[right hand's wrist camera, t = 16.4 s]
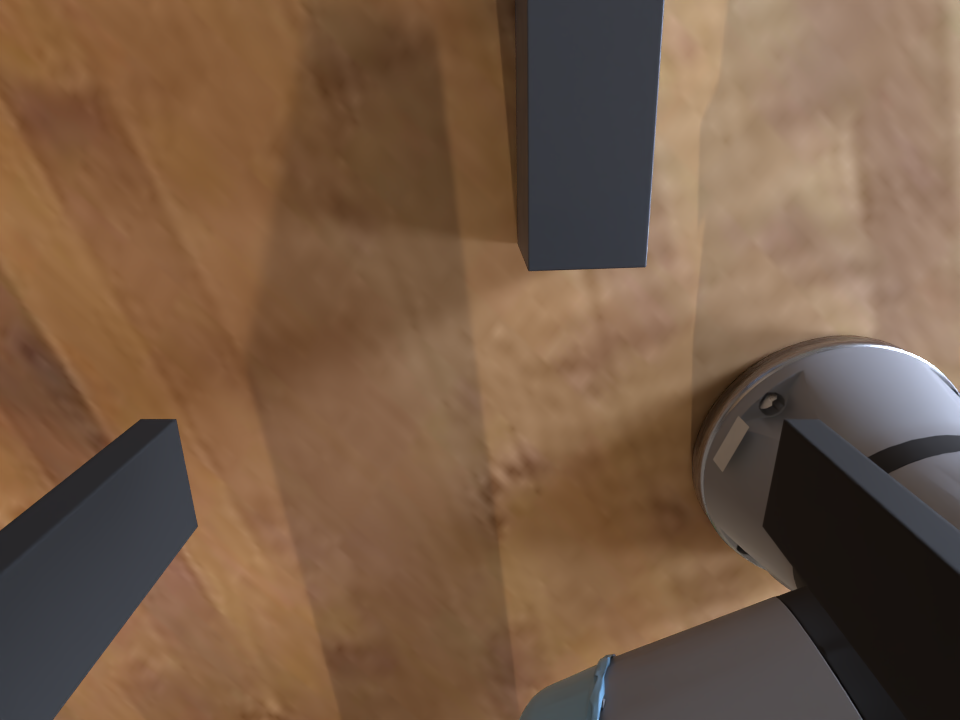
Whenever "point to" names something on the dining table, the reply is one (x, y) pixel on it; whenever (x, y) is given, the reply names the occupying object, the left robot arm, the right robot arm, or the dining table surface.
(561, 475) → the dining table surface
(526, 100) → the beam
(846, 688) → the right robot arm
